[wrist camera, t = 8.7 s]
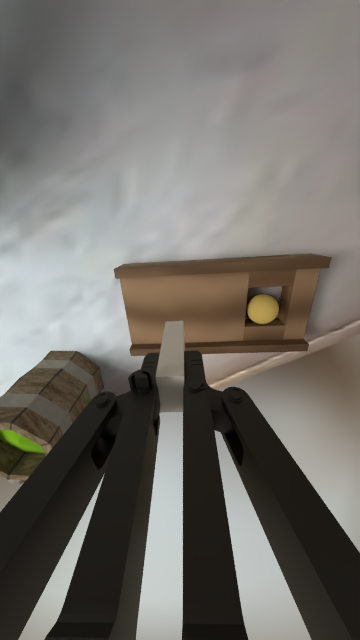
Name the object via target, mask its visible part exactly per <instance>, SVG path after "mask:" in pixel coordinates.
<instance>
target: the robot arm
mask: <svg viewBox="0 0 360 640" xmlns="http://www.w3.org/2000/svg"><path fill="white" fill-rule="evenodd" d="M128 379H129V383H130V388H131V391H130V392H128V393H125V394H122V395H119V396H115V395H114V393H112V392H103V393H100V394H98V395H96V396H95V397H94V398H93V399H92V400H91V401H90V402H89V404H88V405H87V406H86V407H85V408H84V410H83V411H82V412H81V413H80V415H79V416H78V417H77V418H76V420H75V421H74V422H73V423H72V424H71V426H70V427H69V428H68V429H67V431H66V432H65V433H64V434H63V436H62V437H61V438H60V439H59V441H58V442H57V443H56V444H55V445H54V447H53V448H52V449H51V450H50V452H49V453H48V454H47V455H46V457H45V458H44V459H43V460H42V461H41V463H40V464H39V465H38V466H37V468H36V469H35V470H34V471H33V473H32V474H31V475H30V476H29V478H28V479H27V480H26V481H25V482H24V484H23V485H22V486H21V487H20V489H19V490H18V491H17V492H16V494H15V495H14V496H13V497H12V499H11V500H10V501H9V502H8V503H7V505H6V506H5V507H4V508H3V510H2V511H1V512H0V640H18V639H19V637H20V635H21V633H22V631H23V629H24V627H25V625H26V623H27V621H28V619H29V618H30V616H31V614H32V611H33V610H34V608H35V606H36V604H37V602H38V600H39V598H40V596H41V594H42V593H43V591H44V589H45V587H46V585H47V583H48V581H49V579H50V577H51V575H52V573H53V571H54V569H55V567H56V566H57V564H58V562H59V560H60V558H61V556H62V554H63V552H64V550H65V548H66V546H67V545H68V543H69V541H70V539H71V537H72V535H73V533H74V531H75V529H76V527H77V525H78V523H79V521H80V520H81V518H82V516H83V514H84V512H85V510H86V508H87V506H88V504H89V502H90V500H91V498H92V496H93V495H94V493H95V491H96V489H97V487H98V485H99V483H100V481H101V479H102V477H103V475H104V478H103V481H102V484H101V487H100V490H99V494H98V497H97V500H96V503H95V506H94V510H93V513H92V516H91V519H90V522H89V526H88V529H87V532H86V535H85V538H84V541H83V544H82V548H81V551H80V554H79V557H78V561H77V564H76V567H75V570H74V573H73V576H72V580H71V583H70V586H69V589H68V592H67V596H66V599H65V602H64V605H63V608H62V611H61V613H60V615H59V618H58V620H57V622H56V623H55V625H54V626H53V628H52V629H51V631H50V632H49V633H48V635H47V636H46V638H45V640H136V629H137V620H138V611H139V602H140V593H141V585H142V576H143V567H144V557H145V550H146V541H147V532H148V523H149V514H150V504H151V497H152V488H153V479H154V470H155V462H156V453H157V443H158V435H159V426H160V416H159V412H160V410H161V412H183V628H182V640H248V637H247V633H246V629H245V625H244V621H243V616H242V609H241V603H240V598H239V590H238V584H237V577H236V571H235V564H234V557H233V551H232V544H231V538H230V531H229V524H228V518H227V512H226V505H225V498H224V491H223V485H222V479H221V472H220V465H219V459H218V452H217V445H216V439H215V432H214V430H216V431H219V432H221V434H222V436H223V439H224V441H225V443H226V445H227V448H228V450H229V452H230V454H231V457H232V459H233V461H234V464H235V466H236V468H237V470H238V472H239V474H240V477H241V479H242V482H243V484H244V486H245V489H246V491H247V493H248V495H249V498H250V500H251V502H252V505H253V507H254V509H255V511H256V514H257V516H258V518H259V520H260V523H261V525H262V527H263V530H264V532H265V534H266V536H267V539H268V541H269V543H270V546H271V548H272V550H273V552H274V555H275V557H276V559H277V561H278V564H279V566H280V568H281V570H282V573H283V575H284V577H285V580H286V582H287V584H288V586H289V589H290V591H291V593H292V596H293V598H294V600H295V603H296V605H297V607H298V609H299V612H300V614H301V616H302V618H303V621H304V623H305V625H306V628H307V630H308V632H309V634H310V637H311V639H312V640H360V553H359V551H358V550H357V549H356V547H355V546H354V544H353V543H352V541H351V540H350V538H349V537H348V536H347V534H346V533H345V531H344V530H343V529H342V527H341V526H340V524H339V523H338V521H337V520H336V519H335V517H334V516H333V514H332V513H331V512H330V510H329V509H328V507H327V506H326V504H325V503H324V502H323V500H322V499H321V497H320V496H319V495H318V493H317V492H316V490H315V489H314V487H313V486H312V485H311V483H310V482H309V480H308V479H307V478H306V476H305V475H304V473H303V472H302V470H301V469H300V468H299V466H298V465H297V464H296V462H295V461H294V459H293V458H292V456H291V455H290V453H289V452H288V451H287V449H286V448H285V446H284V445H283V444H282V442H281V441H280V439H279V438H278V436H277V435H276V434H275V432H274V431H273V429H272V428H271V427H270V425H269V424H268V422H267V421H266V419H265V418H264V417H263V415H262V414H261V412H260V411H259V409H258V408H257V407H256V406H255V404H254V402H253V401H252V400H251V398H250V397H249V395H248V394H247V393H246V392H245V391H244V390H242V389H240V388H237V387H229V388H227V389H225V390H224V391H223V392H222V391H218V390H215V389H212V388H211V387H210V386H208V384H207V383H206V380H205V373H204V367H203V360H202V354H201V353H200V352H199V351H198V350H193V351H185V340H184V322H183V321H167V322H165V328H164V333H163V339H162V344H161V350H160V352H157V353H148V354H147V355H146V356H145V357H144V361H143V364H142V368H141V370H138V371H136V372H134V373H132V374H131V375H130V377H129V378H128ZM104 473H105V474H104Z"/></svg>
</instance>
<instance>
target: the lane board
mask: <svg viewBox="0 0 360 640" xmlns="http://www.w3.org/2000/svg"><path fill="white" fill-rule="evenodd" d="M330 261H331V257H326V256H320V255H314V254H297V255H279V256H261V257H243V258H225V259H207V260H189V261H171V262H153V263H135V264H123V265H121V266H119V267H117V268H115V269H114V273H115V278H116V279H120V283H121V288H122V294H123V299H124V304H125V309H126V315H127V320H128V325H129V331H130V336H131V341H132V346H131V348H130V354H131V356H146V355H147V354H148V353H157V352H160V350H161V344H162V339H163V333H164V328H165V322H167V321H183V322H184V340H185V351H193V350H198V351H199V352H200V353H201V354H219V353H254V352H290V351H307V350H308V346H309V344H308V343H307V342H306V341H305V340H304V335H305V331H306V326H307V322H308V318H309V314H310V310H311V306H312V302H313V298H314V293H315V289H316V285H317V281H318V277H319V273H320V269H321V268H329V265H330ZM271 286H283V287H282V293H281V299H280V305H279V312H278V317H277V318H275V319H274V320H273V321H271V322H269V323H266V324H259V323H256V322H254V321H252V320H251V319H245V315H246V304H247V293H248V288H250V287H271Z"/></svg>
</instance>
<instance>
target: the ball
mask: <svg viewBox="0 0 360 640" xmlns="http://www.w3.org/2000/svg"><path fill="white" fill-rule="evenodd" d="M278 312H279V306H278V303H277V301H276V300H275V299H274V298H273V297H272V296H270V295H266V294H260V295H257V296H254V297H253V298H252V299H251V300H250V301H249V302H248V305H247V314H248V316H249V318H250V319H251V320H252V321H254V322H256V323H259V324H266V323H269V322H271V321H273V320H274V319H275V318H276V316H277V315H278Z"/></svg>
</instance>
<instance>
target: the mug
mask: <svg viewBox="0 0 360 640" xmlns="http://www.w3.org/2000/svg"><path fill="white" fill-rule="evenodd" d="M103 388H104V386H103V381H102V377H101V372H100V368H99V367H98V366H97V365H96V364H94V363H93V362H91V361H90V360H89V359H87V358H86V357H84V356H83V355H82V354H80V353H79V352H77V351H50V352H49V353H48V354H47V356H46V357H45V358H44V359H43V360H42V361H41V362H40V363H39V364H38V365H36V366H35V367H34V368H33V369H31V370H30V371H29V372H27V373H26V374H25V375H23V376H22V377H21V378H19V379H18V380H17V381H16V382H15V383H14V385H13V386H12V387H11V388H10V389H9V390H8V391H7V392H6V393H5V394H4V395H3V396H1V397H0V476H1V477H3V478H6V479H8V481H9V482H10V483H12V484H22V483H24V482H25V481H26V480H27V479H28V478H29V476H30V475H31V474H32V473H33V471H34V470H35V469H36V468H37V466H38V465H39V464H40V463H41V461H42V460H43V459H44V458H45V457H46V455H47V454H48V453H49V452H50V450H51V449H52V448H53V447H54V445H55V444H56V443H57V442H58V441H59V439H60V438H61V437H62V436H63V434H64V433H65V432H66V431H67V429H68V428H69V427H70V426H71V424H72V423H73V422H74V421H75V420H76V418H77V417H78V416H79V415H80V413H81V412H82V411H83V410H84V408H85V407H86V406H87V405H88V404H89V402H90V401H91V400H92V399H93V398H94V397H95V396H96V395H98V394H99V393H100V392H101V390H102V389H103Z"/></svg>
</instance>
